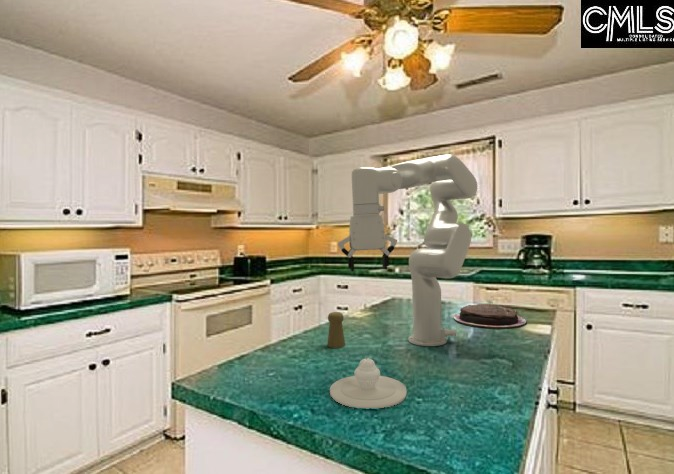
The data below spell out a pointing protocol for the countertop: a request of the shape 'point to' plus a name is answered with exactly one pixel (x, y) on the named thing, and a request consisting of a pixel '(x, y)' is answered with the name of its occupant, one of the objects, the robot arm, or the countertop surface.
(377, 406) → the plate
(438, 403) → the countertop surface
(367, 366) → the muffin
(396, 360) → the countertop surface
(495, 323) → the chocolate cake
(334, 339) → the cork
